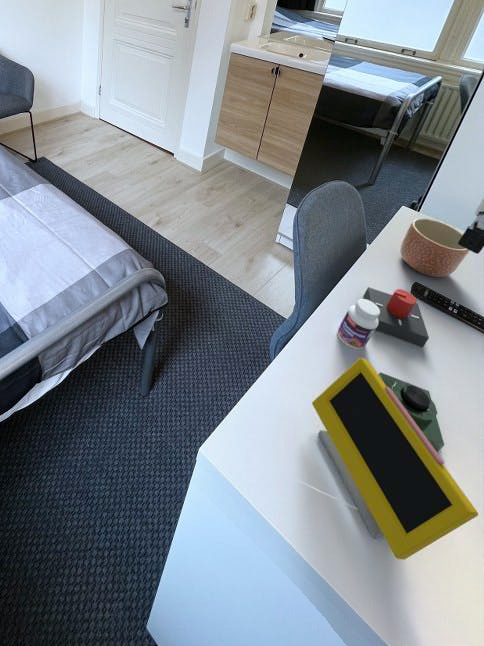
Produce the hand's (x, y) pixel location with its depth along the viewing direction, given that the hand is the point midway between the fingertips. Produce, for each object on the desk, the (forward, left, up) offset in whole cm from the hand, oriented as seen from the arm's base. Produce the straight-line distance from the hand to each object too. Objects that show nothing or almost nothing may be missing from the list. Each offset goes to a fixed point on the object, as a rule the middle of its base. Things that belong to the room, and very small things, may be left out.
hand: (476, 239), depth 79 cm
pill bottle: (+14, +9, -26) cm, 31 cm away
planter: (-6, -26, -26) cm, 37 cm away
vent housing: (+6, +22, -26) cm, 35 cm away
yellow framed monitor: (+14, +38, -26) cm, 48 cm away
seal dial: (+5, -1, -23) cm, 23 cm away
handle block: (+5, -1, -26) cm, 26 cm away
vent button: (+6, +22, -22) cm, 32 cm away
